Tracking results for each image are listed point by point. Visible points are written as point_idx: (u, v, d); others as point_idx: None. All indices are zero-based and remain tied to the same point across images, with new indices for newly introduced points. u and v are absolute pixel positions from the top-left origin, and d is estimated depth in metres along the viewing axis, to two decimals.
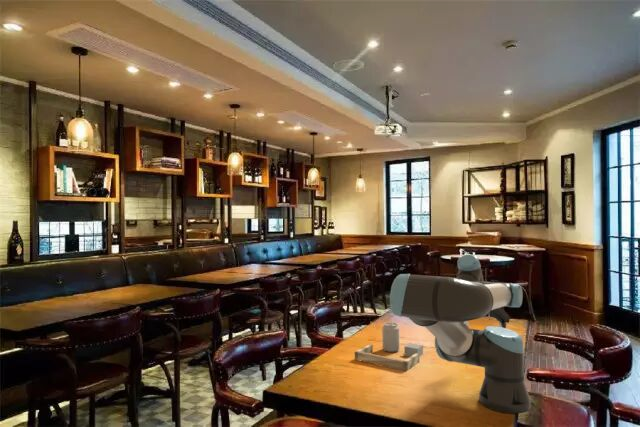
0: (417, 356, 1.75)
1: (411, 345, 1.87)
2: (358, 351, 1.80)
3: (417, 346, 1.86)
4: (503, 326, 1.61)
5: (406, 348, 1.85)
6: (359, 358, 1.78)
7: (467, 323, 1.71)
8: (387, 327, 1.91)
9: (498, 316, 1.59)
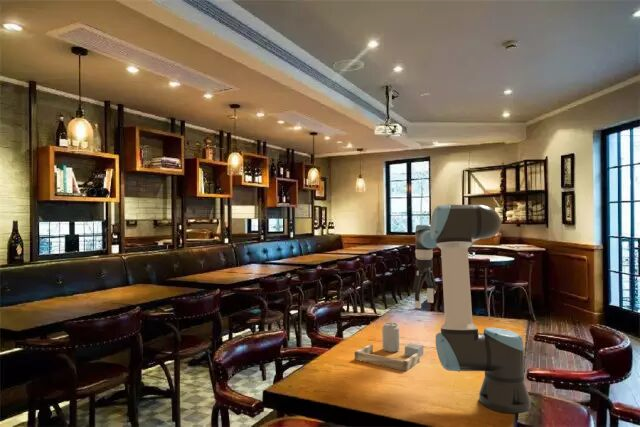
0: (417, 356, 1.75)
1: (411, 345, 1.87)
2: (358, 351, 1.80)
3: (417, 346, 1.85)
4: None
5: (406, 348, 1.85)
6: (359, 358, 1.78)
7: None
8: (387, 327, 1.91)
9: None
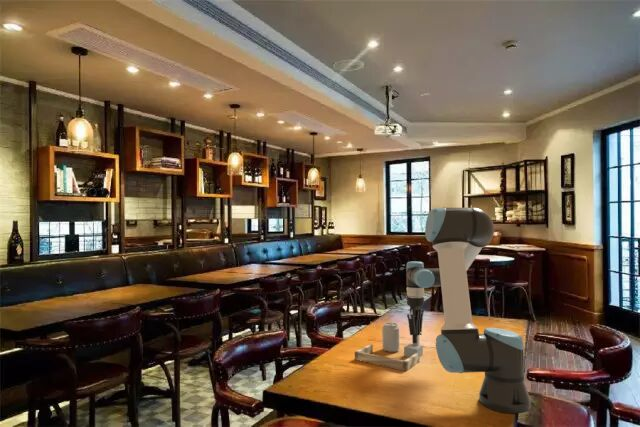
0: (417, 356, 1.75)
1: (411, 345, 1.86)
2: (358, 351, 1.80)
3: (417, 347, 1.84)
4: None
5: (406, 348, 1.84)
6: (359, 358, 1.78)
7: None
8: (387, 327, 1.91)
9: None
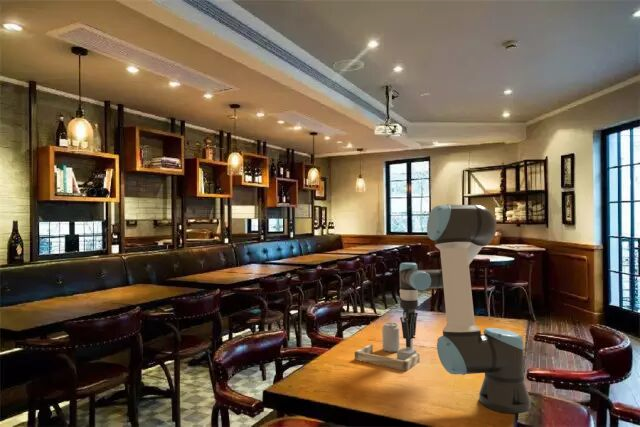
0: (417, 356, 1.75)
1: (404, 350, 1.80)
2: (358, 351, 1.80)
3: (410, 351, 1.79)
4: None
5: (399, 353, 1.78)
6: (359, 358, 1.78)
7: None
8: (387, 327, 1.91)
9: None
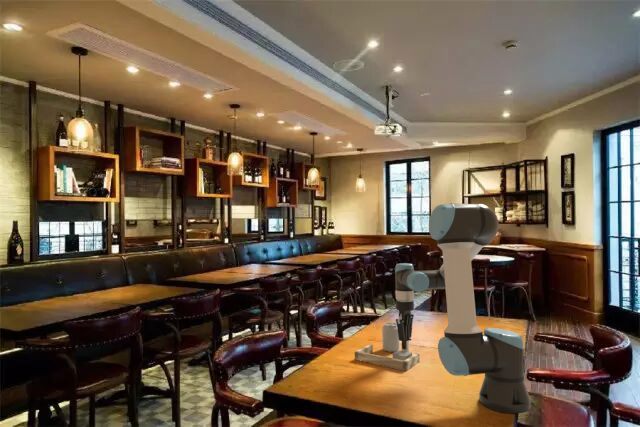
0: (417, 356, 1.75)
1: (400, 352, 1.77)
2: (358, 351, 1.80)
3: (406, 353, 1.75)
4: None
5: (394, 355, 1.75)
6: (359, 358, 1.78)
7: None
8: (387, 327, 1.91)
9: None
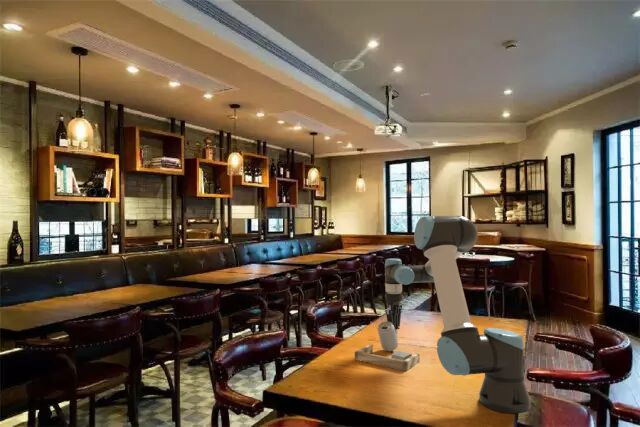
0: (417, 356, 1.75)
1: (399, 353, 1.77)
2: (358, 351, 1.80)
3: (405, 354, 1.75)
4: None
5: (393, 356, 1.75)
6: (359, 358, 1.78)
7: None
8: (382, 331, 1.87)
9: None
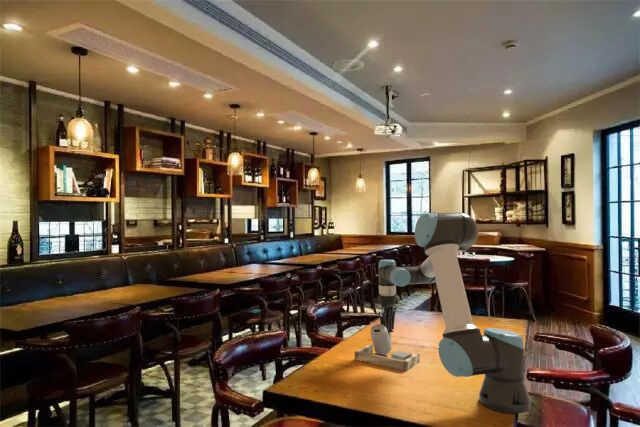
0: (417, 356, 1.75)
1: (399, 353, 1.77)
2: (358, 351, 1.80)
3: (405, 354, 1.75)
4: None
5: (393, 356, 1.75)
6: (359, 358, 1.78)
7: None
8: (375, 334, 1.82)
9: None
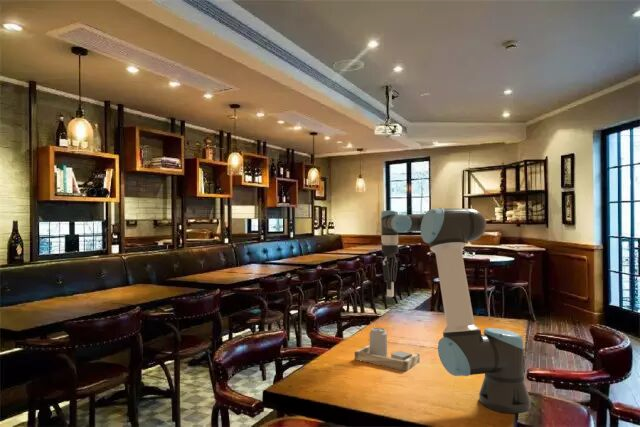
0: (417, 356, 1.75)
1: (399, 353, 1.77)
2: (358, 351, 1.80)
3: (405, 354, 1.74)
4: None
5: (393, 356, 1.75)
6: (359, 358, 1.78)
7: None
8: (374, 332, 1.82)
9: None
